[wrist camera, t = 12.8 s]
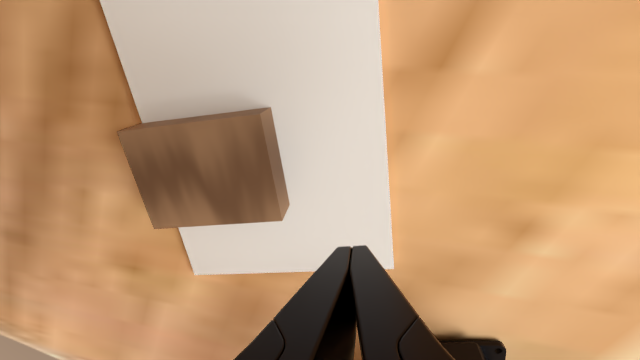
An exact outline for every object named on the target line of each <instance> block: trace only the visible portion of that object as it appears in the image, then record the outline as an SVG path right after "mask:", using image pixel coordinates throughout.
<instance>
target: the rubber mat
mask: <svg viewBox="0 0 640 360" xmlns="http://www.w3.org/2000/svg"><path fill="white" fill-rule="evenodd" d="M100 3H101V6H102V9H103V12H104V15H105V17H106V20H107V23H108V26H109V29H110V32H111V35H112V38H113V41H114V43H115V46H116V49H117V52H118V55H119V58H120V61H121V64H122V67H123V69H124V72H125V75H126V78H127V81H128V84H129V87H130V90H131V93H132V95H133V98H134V101H135V104H136V107H137V110H138V113H139V116H140V119H141V121H142V123H148V122H156V121H164V120H172V119H180V118H188V117H196V116H204V115H212V114H220V113H228V112H236V111H244V110H252V109H260V108H268V107H271V110H272V115H273V121H274V126H275V131H276V136H277V141H278V146H279V152H280V157H281V162H282V167H283V172H284V177H285V182H286V188H287V193H288V198H289V203H290V205H289V208H288V210H287V212H286V214H285V216H284V218H283V221H275V222H259V223H243V224H227V225H211V226H195V227H179V231H180V234H181V237H182V240H183V243H184V246H185V248H186V251H187V254H188V257H189V260H190V263H191V266H192V269H193V272H194V274H195V275H214V274H246V273H277V272H309V271H316V270H317V269H318V268H319V267H320V266H321V265H322V264H323V263H324V261H325V260H326V259H327V258H328V257H329V256H330V255H331V254H332V252H333V251H334V250H335V249H336V248H337V247H342V246H351V247H353V246H359V245H366V246H367V247H368V248H369V249H370V251H371V252H372V253H373V255H374V256H375V257H376V259H377V260H378V261H379V263H380V264H381V265H382V267H383V268H384V269H394V260H393V243H392V226H391V209H390V192H389V175H388V158H387V142H386V125H385V108H384V91H383V74H382V57H381V40H380V23H379V6H378V0H100Z"/></svg>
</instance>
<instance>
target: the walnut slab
mask: <svg viewBox="0 0 640 360" xmlns="http://www.w3.org/2000/svg"><path fill="white" fill-rule="evenodd" d="M117 133H118V136H119V139H120V142H121V144H122V147H123V150H124V152H125V155H126V157H127V160H128V163H129V165H130V168H131V170H132V173H133V176H134V178H135V181H136V184H137V186H138V189H139V191H140V194H141V197H142V199H143V202H144V204H145V207H146V210H147V212H148V215H149V217H150V220H151V222H152V225H153V227H154V229H162V228H179V227H195V226H211V225H227V224H243V223H259V222H275V221H283V218H284V216H285V214H286V212H287V210H288V208H289V205H290V203H289V198H288V193H287V188H286V182H285V177H284V172H283V167H282V162H281V157H280V152H279V146H278V141H277V136H276V131H275V126H274V121H273V115H272V110H271V107H268V108H260V109H252V110H244V111H236V112H228V113H220V114H212V115H204V116H196V117H188V118H180V119H172V120H164V121H156V122H148V123H140V124H138V125H135V126H132V127H129V128H126V129H123V130H120V131H117Z"/></svg>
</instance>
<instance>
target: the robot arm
mask: <svg viewBox="0 0 640 360" xmlns="http://www.w3.org/2000/svg"><path fill="white" fill-rule="evenodd" d="M356 327H357V329H358V336H359V343H360V350H361V356H362V360H505V357H506V348H505V346H504V344H503V343H502V342H500V341H438V340H437V339H436V337H435V336H434V335H433V334H432V332H431V331H430V330H429V329H428V327H427V326H426V325H425V323H424V322H423V320H422V319H421V318H419V315H418V314H417V313H416V311H415V310H414V309H413V307H412V306H411V305H410V303H409V302H408V300H407V299H406V298H405V296H404V295H403V294H402V292H401V291H400V290H399V288H398V287H397V286H396V284H395V283H394V282H393V280H392V279H391V278H390V276H389V275H388V273H387V272H386V271H385V269H384V268H383V267H382V265H381V264H380V263H379V261H378V260H377V259H376V257H375V256H374V255H373V253H372V252H371V251H370V249H369V248H368V247H367V246H366V245H359V246H353V247H351V246H342V247H337V248H336V249H335V250H334V251H333V252H332V254H331V255H330V256H329V257H328V258H327V259H326V260H325V261H324V263H323V264H322V265H321V266H320V267H319V268H318V269H317V270H316V271H315V273H314V274H313V275H312V276H311V277H310V278H309V279H308V280H307V282H306V283H305V284H304V285H303V286H302V287H301V288H300V289H299V290H298V292H297V293H296V294H295V295H294V296H293V297H292V298H291V299H290V301H289V302H288V303H287V304H286V305H285V306H284V307H283V308H282V309H281V311H280V312H279V313H278V314H277V315H276V316H275V317H274V319H273V320H272V321H271V322H270V323H269V324H268V325H267V326H266V327H265V328H264V329H263V331H262V332H261V333H260V334H259V335H258V336H257V337H256V338H255V339H254V340H253V341H252V342H251V343H250V344H249V345H248V346H247V347H246V348H245V349H244V350H243V351H242V352H241V353H240V354H239V355H238V356H237V357H236V358H235V359H234V360H353V358H354V349H355V339H356Z"/></svg>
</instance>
